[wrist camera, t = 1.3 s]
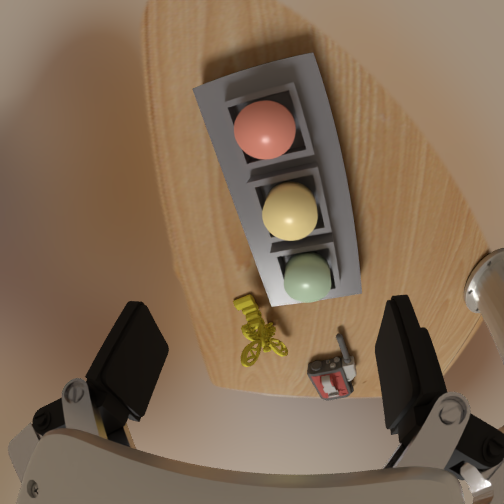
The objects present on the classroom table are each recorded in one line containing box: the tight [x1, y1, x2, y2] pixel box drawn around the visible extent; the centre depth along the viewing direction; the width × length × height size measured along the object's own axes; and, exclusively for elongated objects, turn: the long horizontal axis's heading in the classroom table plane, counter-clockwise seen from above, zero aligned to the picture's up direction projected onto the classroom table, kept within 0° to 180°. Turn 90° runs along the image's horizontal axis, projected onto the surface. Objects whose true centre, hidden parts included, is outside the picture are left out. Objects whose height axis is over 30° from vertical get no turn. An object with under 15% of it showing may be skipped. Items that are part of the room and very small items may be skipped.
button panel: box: [193, 53, 362, 306], centre depth 28 cm, size 12×28×5 cm, turn 18°
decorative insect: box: [233, 294, 288, 367], centre depth 40 cm, size 13×3×10 cm
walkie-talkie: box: [307, 333, 356, 400], centre depth 45 cm, size 9×4×20 cm
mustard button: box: [262, 181, 318, 241], centre depth 26 cm, size 5×5×2 cm
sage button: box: [284, 252, 331, 302], centre depth 29 cm, size 5×5×2 cm
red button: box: [234, 100, 296, 159], centre depth 22 cm, size 5×5×2 cm
